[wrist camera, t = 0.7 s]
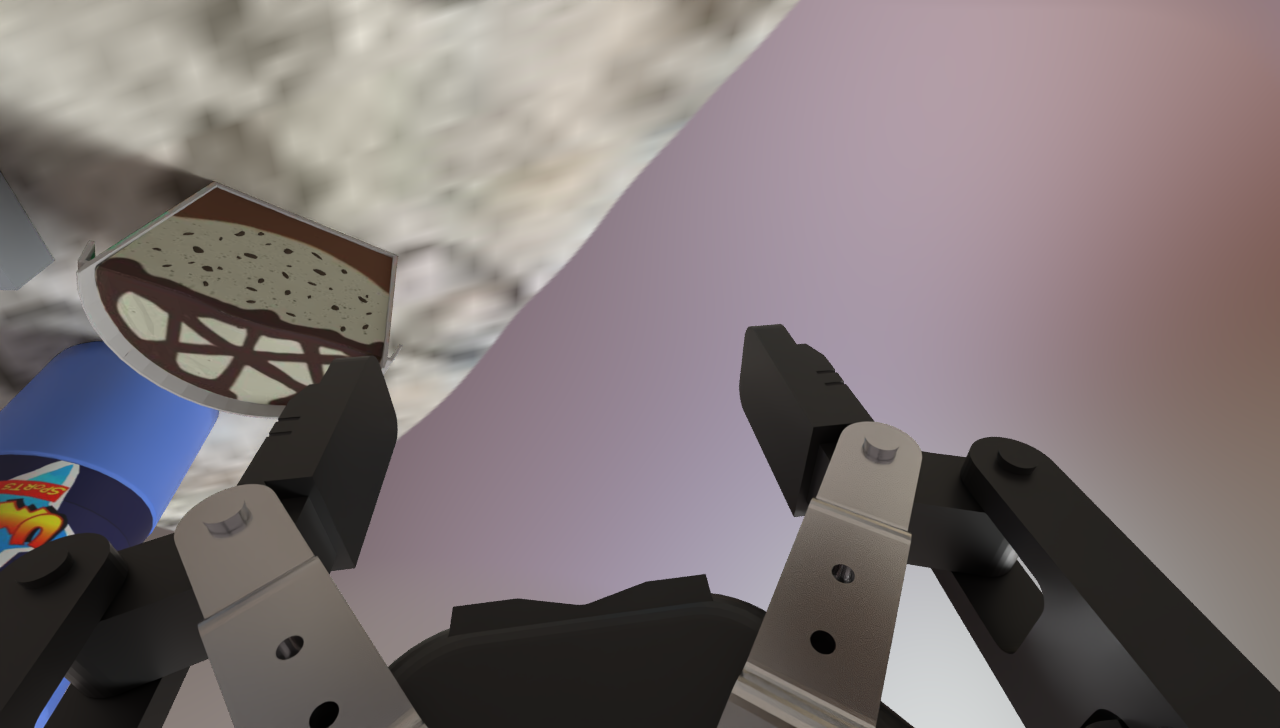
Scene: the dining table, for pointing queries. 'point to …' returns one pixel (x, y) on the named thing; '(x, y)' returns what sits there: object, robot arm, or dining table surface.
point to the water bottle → (91, 456)
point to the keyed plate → (18, 243)
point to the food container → (238, 301)
